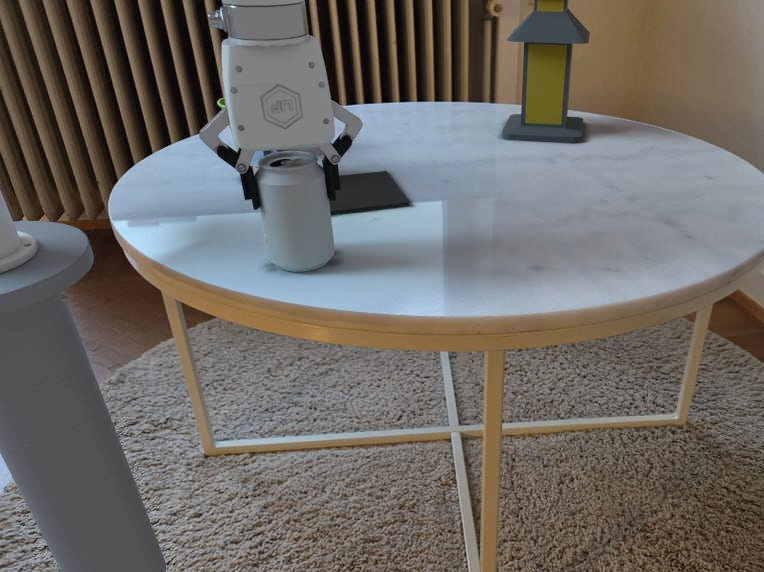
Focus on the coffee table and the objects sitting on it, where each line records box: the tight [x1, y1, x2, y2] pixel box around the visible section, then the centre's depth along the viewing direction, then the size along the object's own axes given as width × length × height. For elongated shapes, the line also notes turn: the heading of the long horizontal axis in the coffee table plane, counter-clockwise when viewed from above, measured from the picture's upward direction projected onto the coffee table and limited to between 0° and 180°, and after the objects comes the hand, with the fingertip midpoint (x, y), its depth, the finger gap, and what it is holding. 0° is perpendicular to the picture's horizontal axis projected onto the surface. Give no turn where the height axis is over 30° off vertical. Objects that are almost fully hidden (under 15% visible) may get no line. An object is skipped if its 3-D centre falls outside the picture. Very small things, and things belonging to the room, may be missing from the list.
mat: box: [329, 170, 410, 216], centre depth 96 cm, size 14×14×1 cm
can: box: [254, 150, 336, 273], centre depth 75 cm, size 8×8×12 cm
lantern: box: [501, 0, 591, 144], centre depth 117 cm, size 14×14×30 cm
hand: (294, 200), depth 74 cm, fingers closed on can, 7 cm apart
